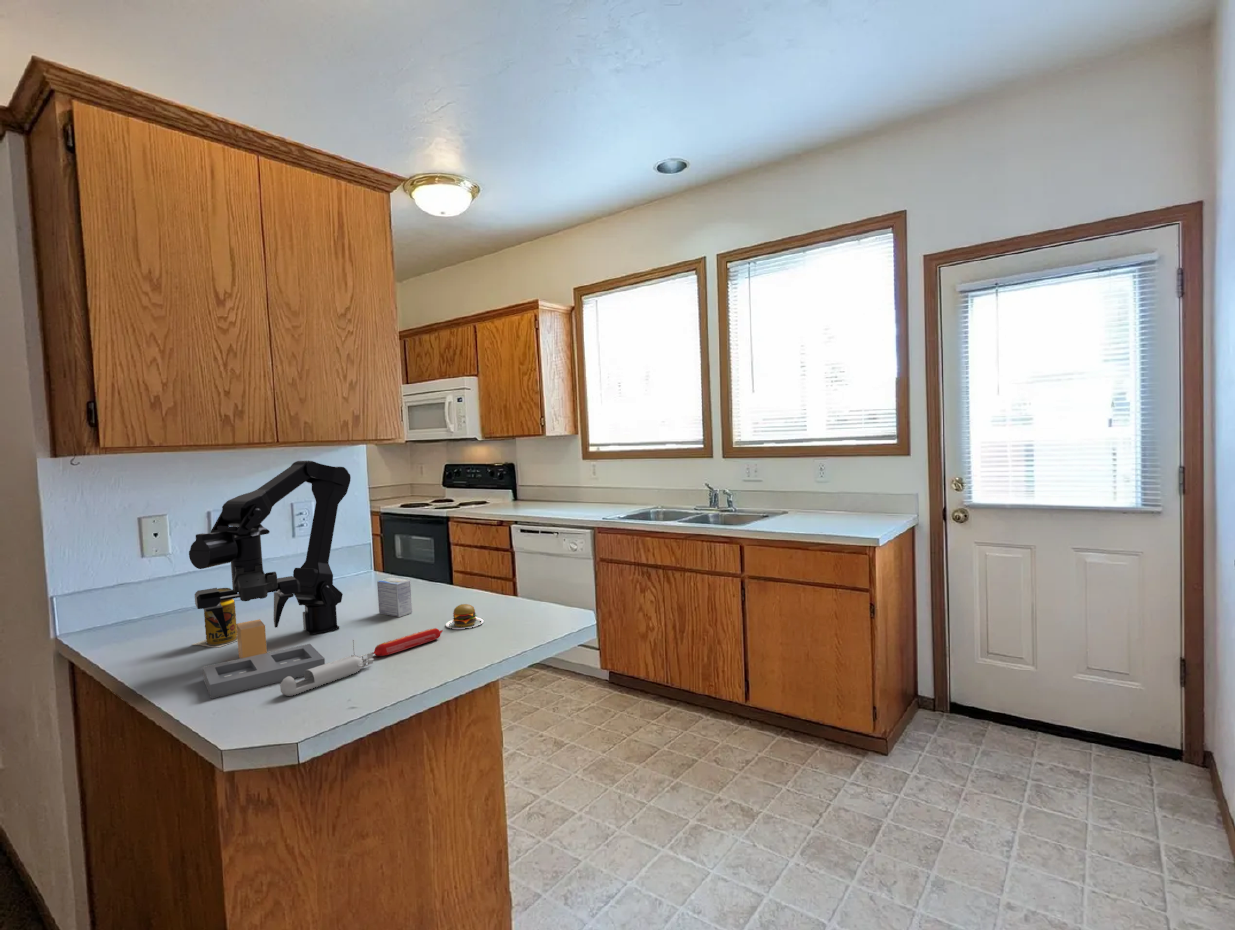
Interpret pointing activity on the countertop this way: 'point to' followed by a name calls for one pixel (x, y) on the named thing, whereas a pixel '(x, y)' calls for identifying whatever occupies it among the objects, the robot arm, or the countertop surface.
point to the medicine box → (394, 597)
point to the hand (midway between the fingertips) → (251, 631)
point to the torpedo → (325, 674)
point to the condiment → (213, 628)
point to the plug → (251, 638)
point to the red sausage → (407, 642)
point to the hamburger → (464, 617)
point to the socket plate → (260, 670)
